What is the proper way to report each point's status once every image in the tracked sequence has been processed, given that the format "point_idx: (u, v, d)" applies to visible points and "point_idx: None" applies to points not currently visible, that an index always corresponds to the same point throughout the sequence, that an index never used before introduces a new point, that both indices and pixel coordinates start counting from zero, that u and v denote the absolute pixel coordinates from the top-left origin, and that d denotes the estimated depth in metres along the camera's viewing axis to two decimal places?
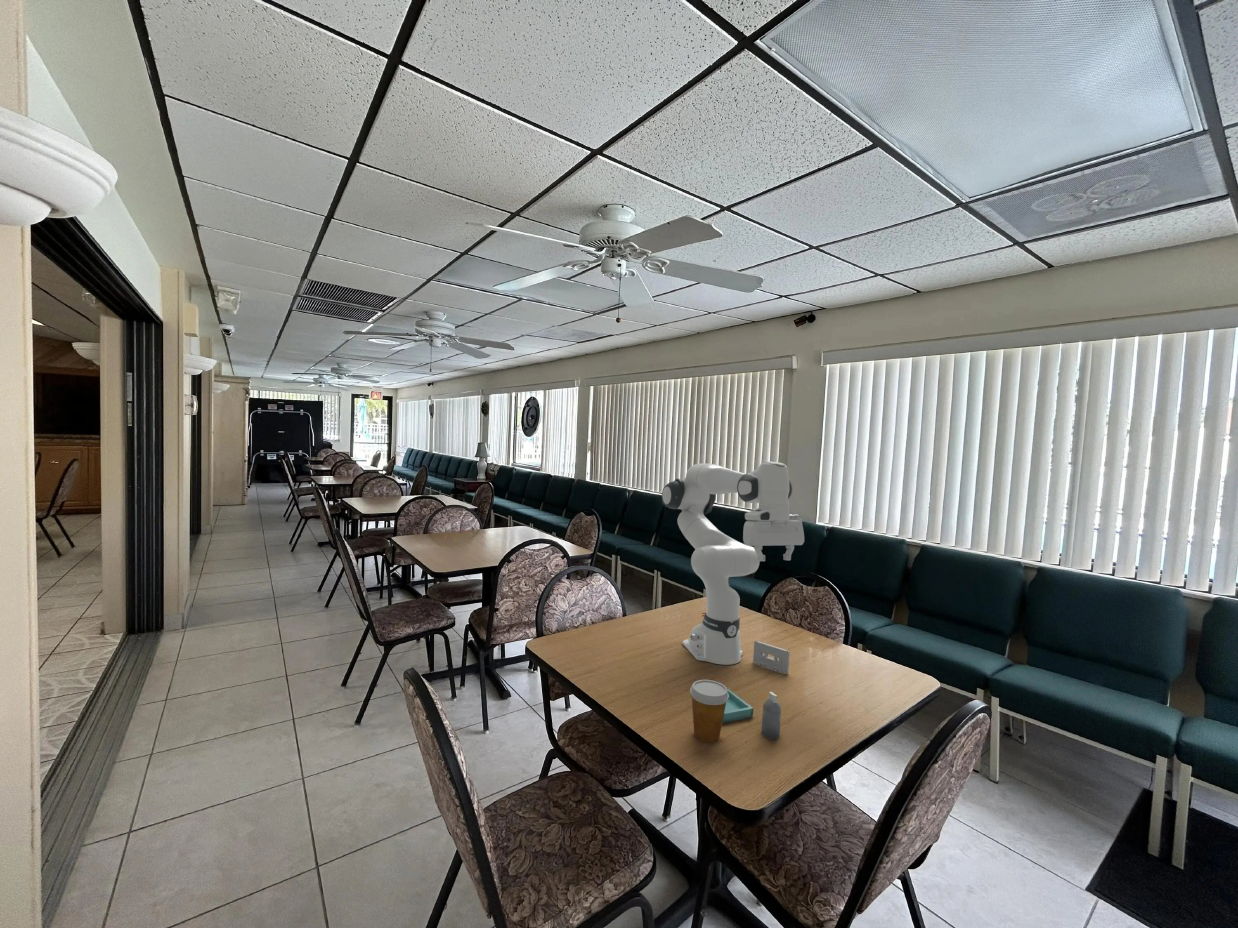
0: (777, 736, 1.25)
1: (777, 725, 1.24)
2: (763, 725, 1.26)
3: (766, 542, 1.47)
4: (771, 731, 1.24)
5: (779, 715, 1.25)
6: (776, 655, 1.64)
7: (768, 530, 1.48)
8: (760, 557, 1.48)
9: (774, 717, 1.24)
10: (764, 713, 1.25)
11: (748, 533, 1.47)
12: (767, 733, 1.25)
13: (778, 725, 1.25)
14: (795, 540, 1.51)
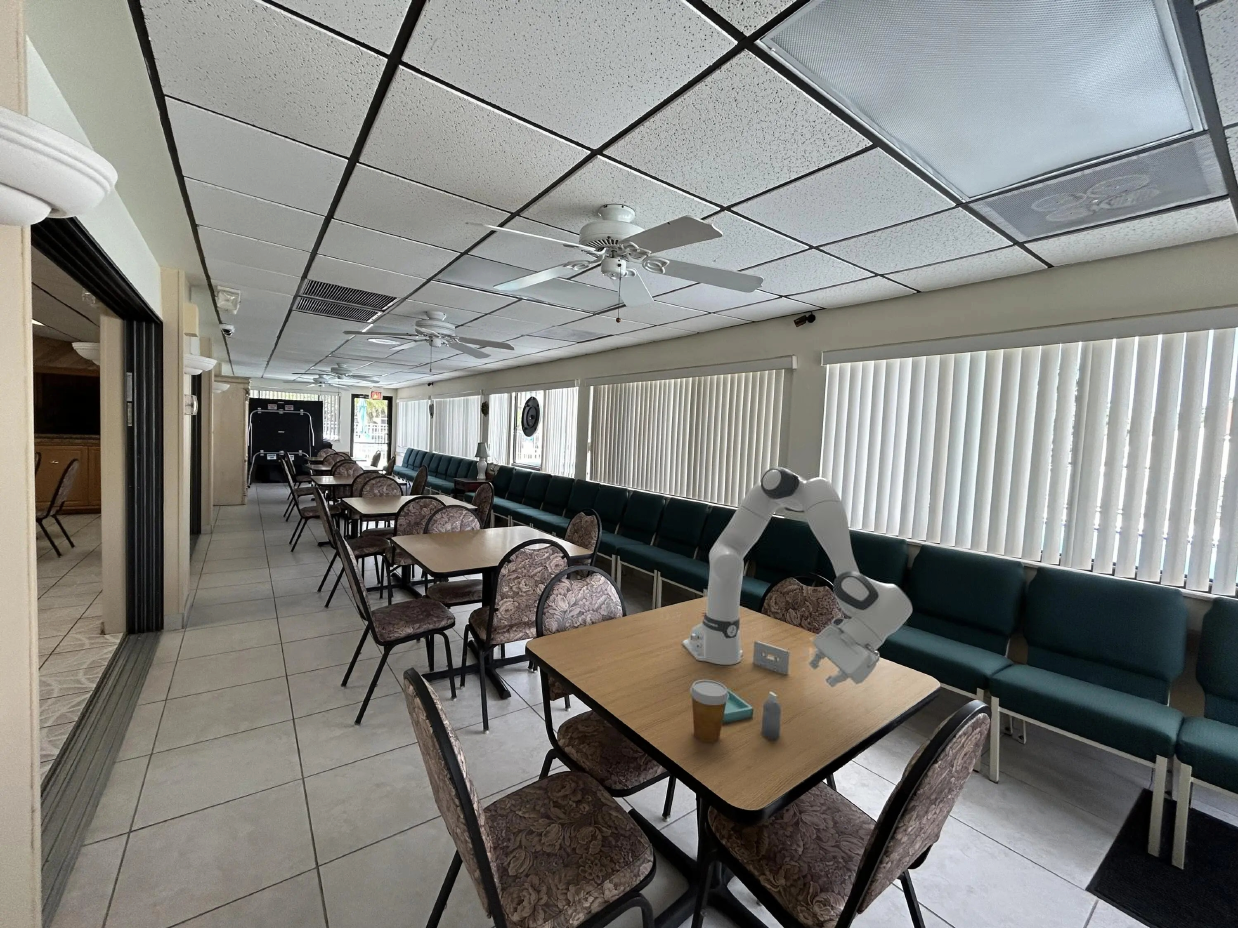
0: (777, 736, 1.25)
1: (777, 725, 1.24)
2: (763, 725, 1.26)
3: (823, 647, 1.31)
4: (771, 731, 1.24)
5: (779, 715, 1.25)
6: (776, 655, 1.64)
7: (834, 641, 1.30)
8: None
9: (774, 717, 1.24)
10: (764, 713, 1.25)
11: None
12: (767, 733, 1.25)
13: (778, 725, 1.25)
14: (845, 664, 1.20)
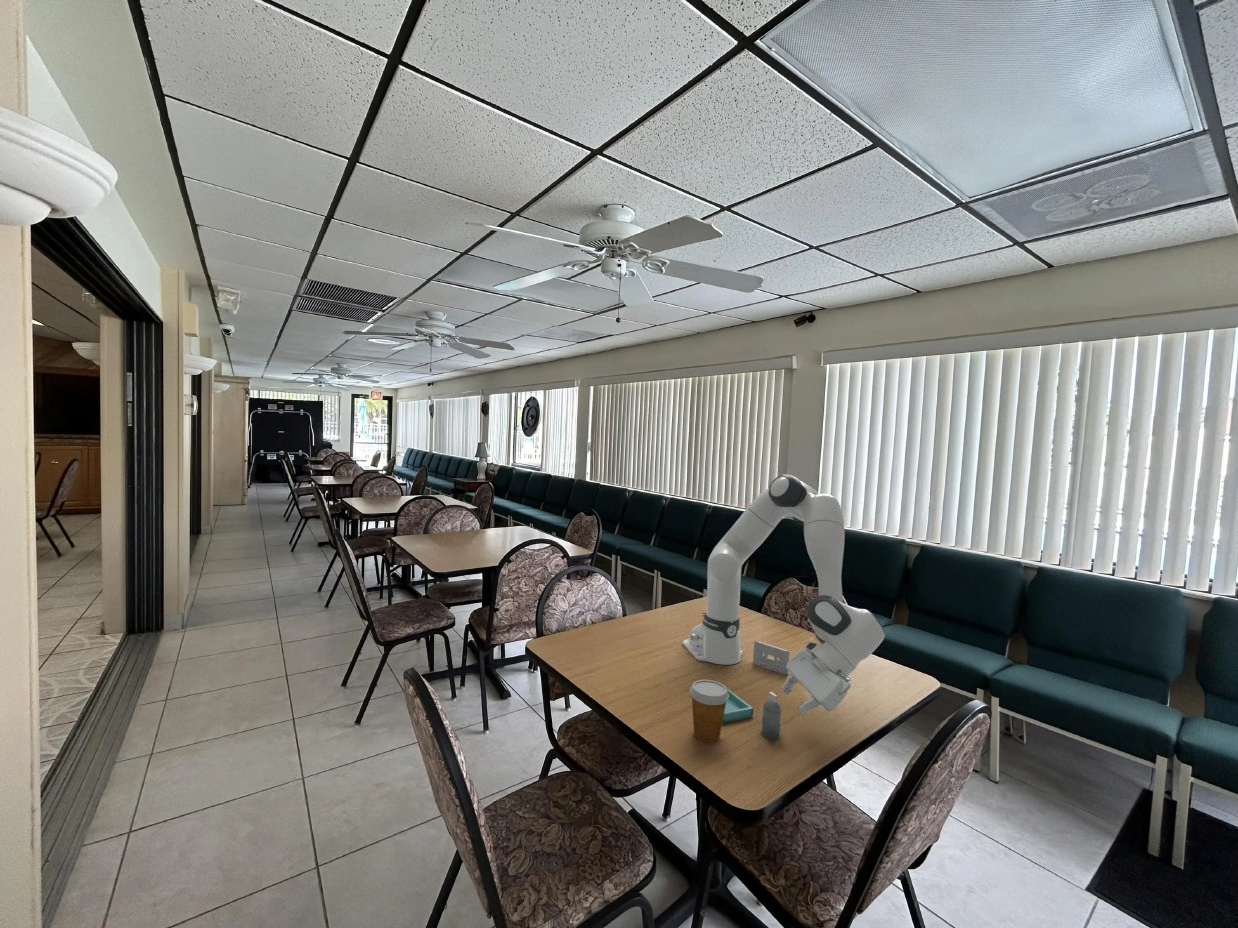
0: (777, 736, 1.25)
1: (777, 725, 1.24)
2: (763, 725, 1.26)
3: (795, 672, 1.30)
4: (771, 731, 1.24)
5: (779, 715, 1.25)
6: (776, 655, 1.64)
7: (807, 665, 1.29)
8: None
9: (774, 717, 1.24)
10: (764, 713, 1.25)
11: None
12: (767, 733, 1.25)
13: (778, 725, 1.25)
14: (816, 691, 1.19)
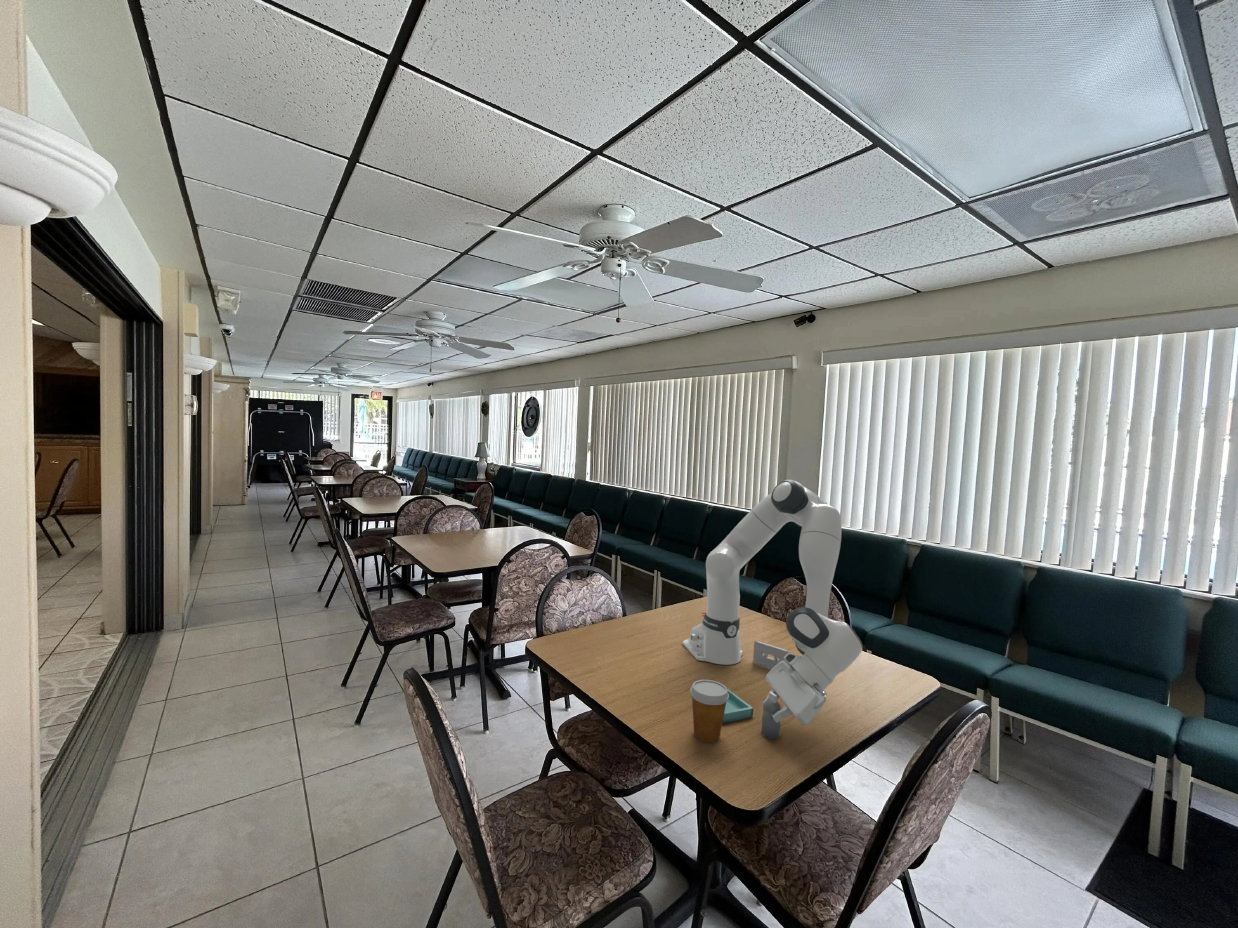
0: (777, 736, 1.25)
1: (777, 725, 1.24)
2: (763, 725, 1.26)
3: (774, 684, 1.30)
4: (771, 731, 1.24)
5: None
6: (776, 655, 1.64)
7: (786, 677, 1.30)
8: None
9: None
10: (764, 713, 1.25)
11: None
12: (767, 733, 1.25)
13: (778, 725, 1.25)
14: (792, 704, 1.20)
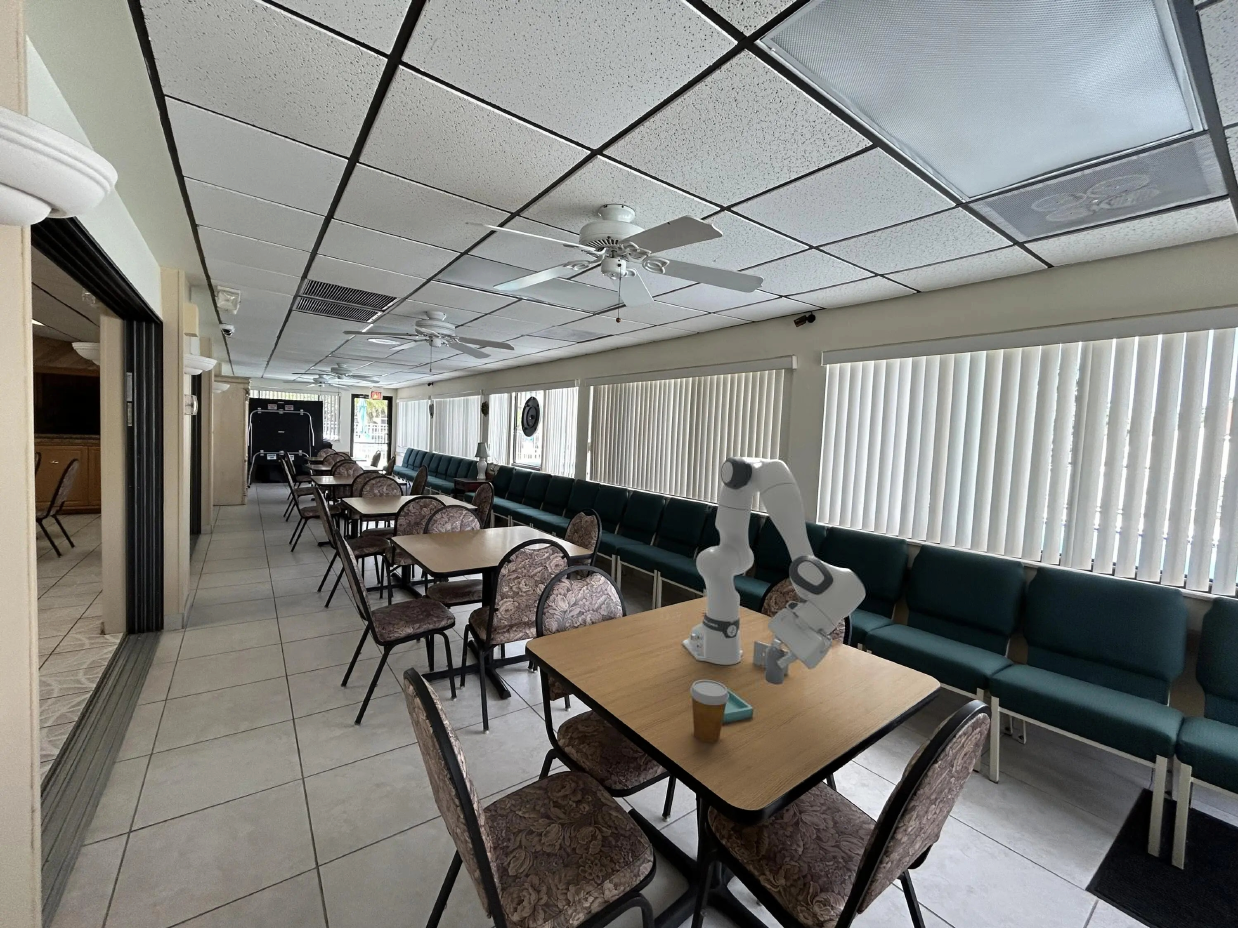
0: (781, 682, 1.25)
1: (782, 671, 1.25)
2: (767, 672, 1.26)
3: (777, 631, 1.30)
4: (775, 677, 1.25)
5: None
6: None
7: (789, 624, 1.30)
8: None
9: None
10: (768, 660, 1.25)
11: None
12: (771, 679, 1.25)
13: (782, 671, 1.25)
14: (798, 650, 1.20)
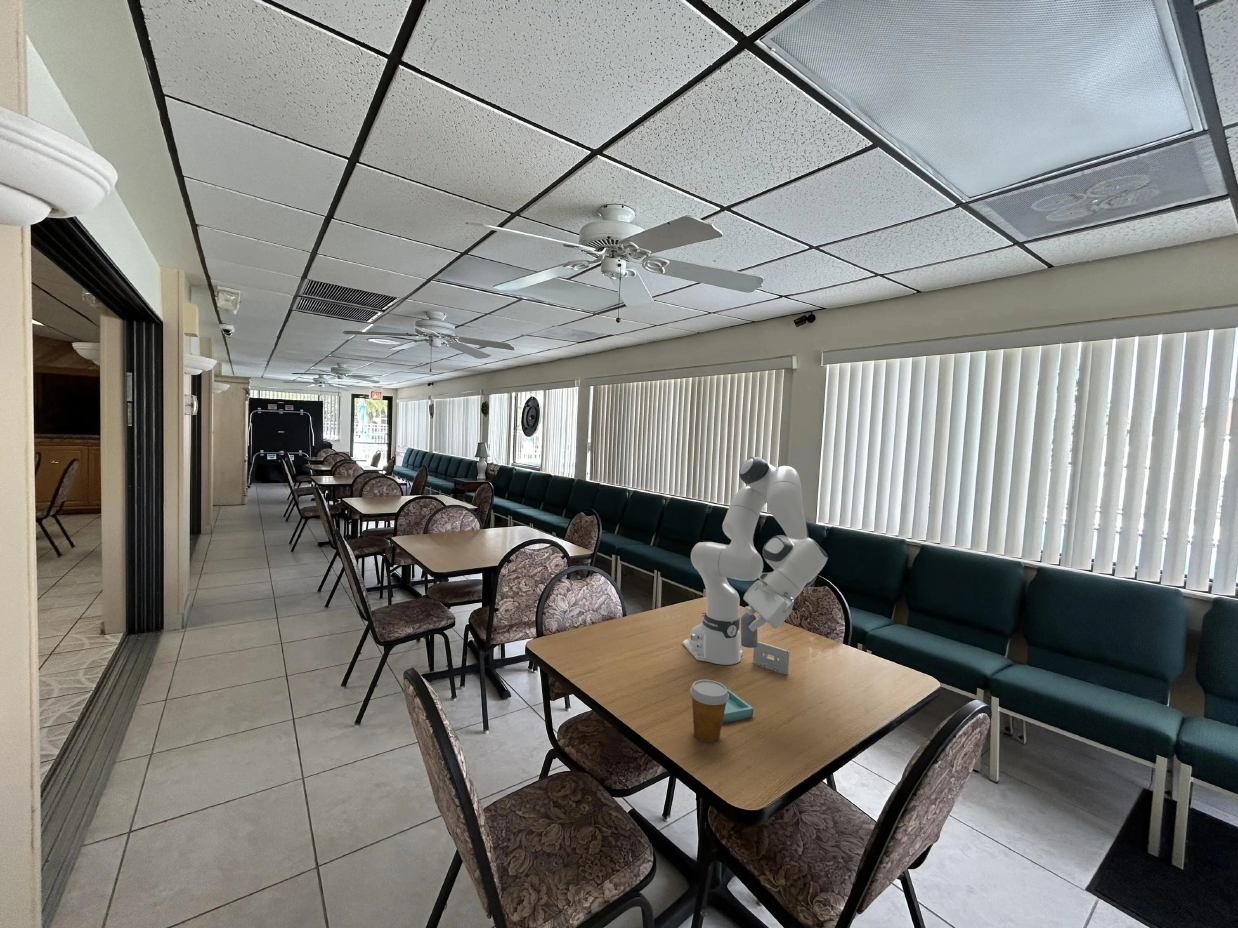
0: (755, 645, 1.35)
1: (754, 634, 1.35)
2: (742, 637, 1.37)
3: (750, 600, 1.41)
4: (749, 641, 1.35)
5: None
6: (776, 655, 1.64)
7: (760, 593, 1.41)
8: None
9: None
10: (742, 625, 1.36)
11: None
12: (746, 643, 1.36)
13: (755, 635, 1.35)
14: (765, 612, 1.31)
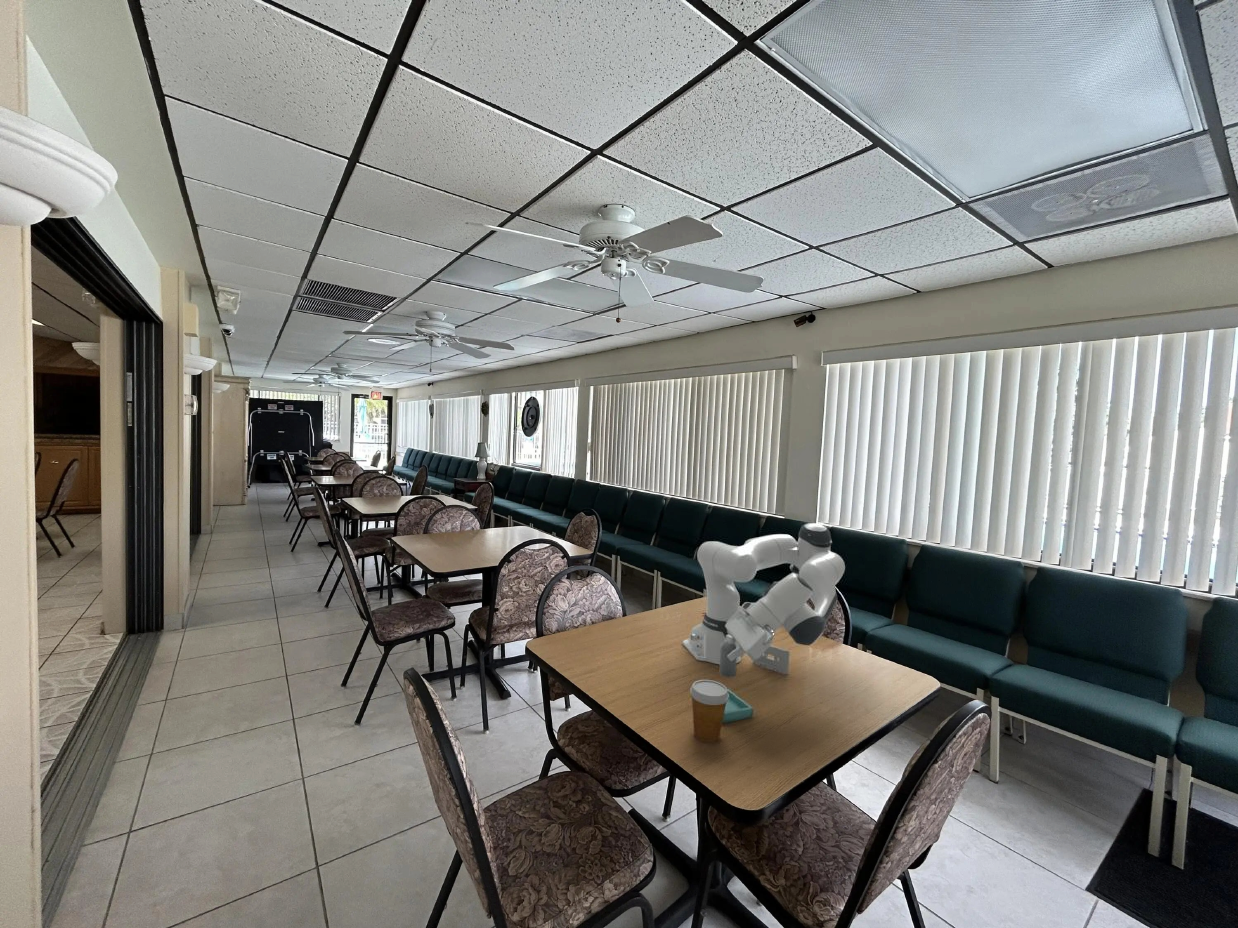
0: (733, 674, 1.35)
1: (733, 664, 1.35)
2: (720, 665, 1.36)
3: (731, 629, 1.41)
4: (727, 670, 1.35)
5: None
6: (776, 655, 1.64)
7: (742, 623, 1.41)
8: None
9: None
10: (721, 653, 1.36)
11: None
12: (724, 672, 1.35)
13: (734, 664, 1.35)
14: (744, 643, 1.31)
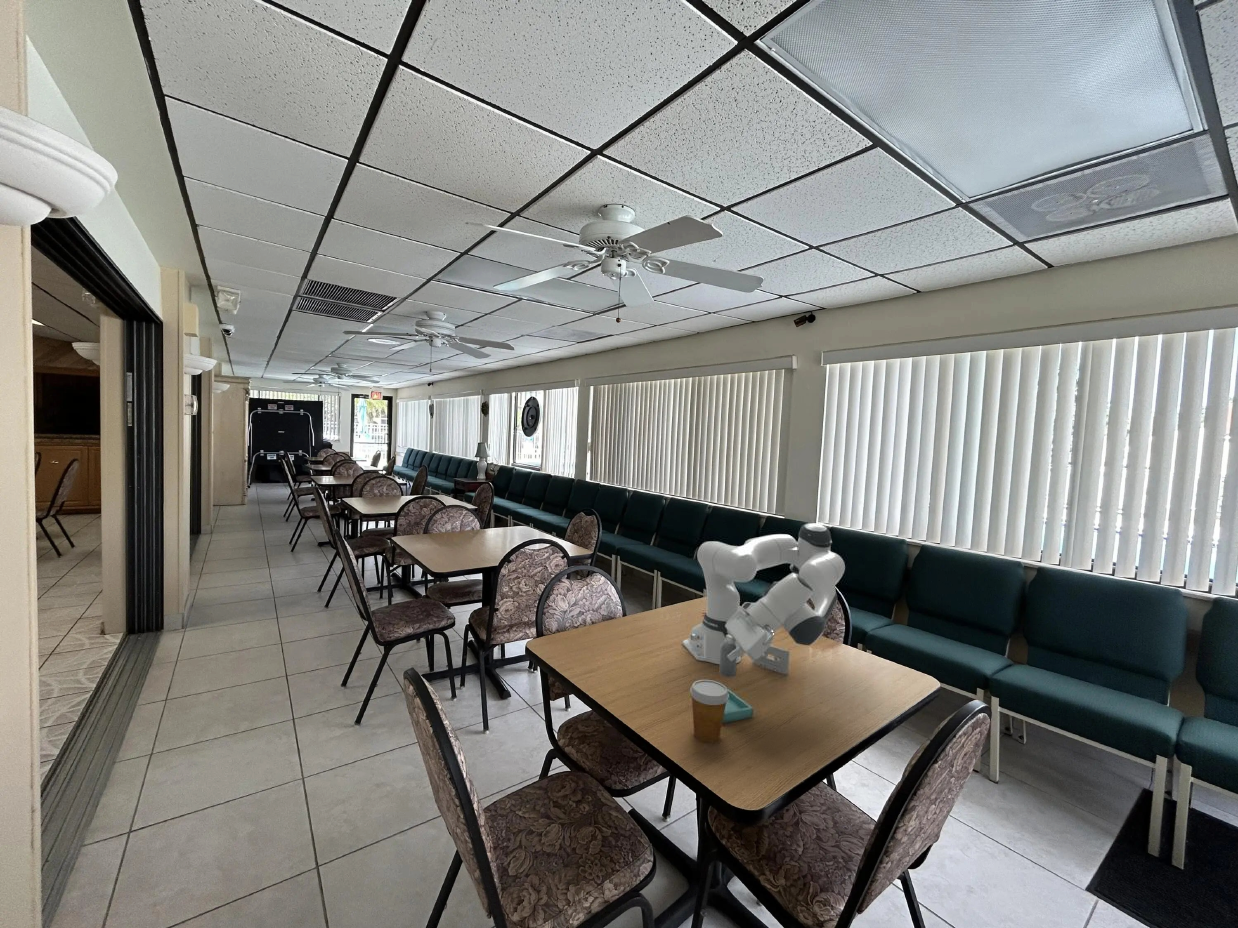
0: (733, 674, 1.35)
1: (733, 664, 1.35)
2: (720, 665, 1.36)
3: (731, 629, 1.41)
4: (727, 670, 1.35)
5: None
6: (776, 655, 1.64)
7: (742, 623, 1.41)
8: None
9: None
10: (721, 653, 1.36)
11: None
12: (724, 672, 1.35)
13: (734, 664, 1.35)
14: (744, 643, 1.31)
